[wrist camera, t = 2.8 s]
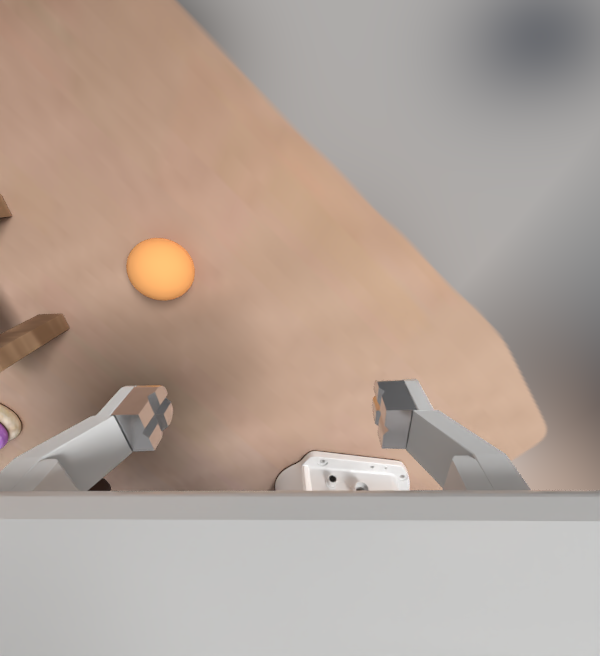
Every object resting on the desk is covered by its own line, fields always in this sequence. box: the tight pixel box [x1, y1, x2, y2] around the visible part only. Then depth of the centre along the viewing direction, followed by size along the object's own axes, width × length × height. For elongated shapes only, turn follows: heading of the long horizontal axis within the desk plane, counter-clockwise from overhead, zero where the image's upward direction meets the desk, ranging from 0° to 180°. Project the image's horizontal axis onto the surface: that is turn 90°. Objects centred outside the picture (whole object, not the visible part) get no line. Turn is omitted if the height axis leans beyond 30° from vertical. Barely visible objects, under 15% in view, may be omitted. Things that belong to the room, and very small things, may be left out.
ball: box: [126, 238, 195, 300], centre depth 28 cm, size 6×6×6 cm
